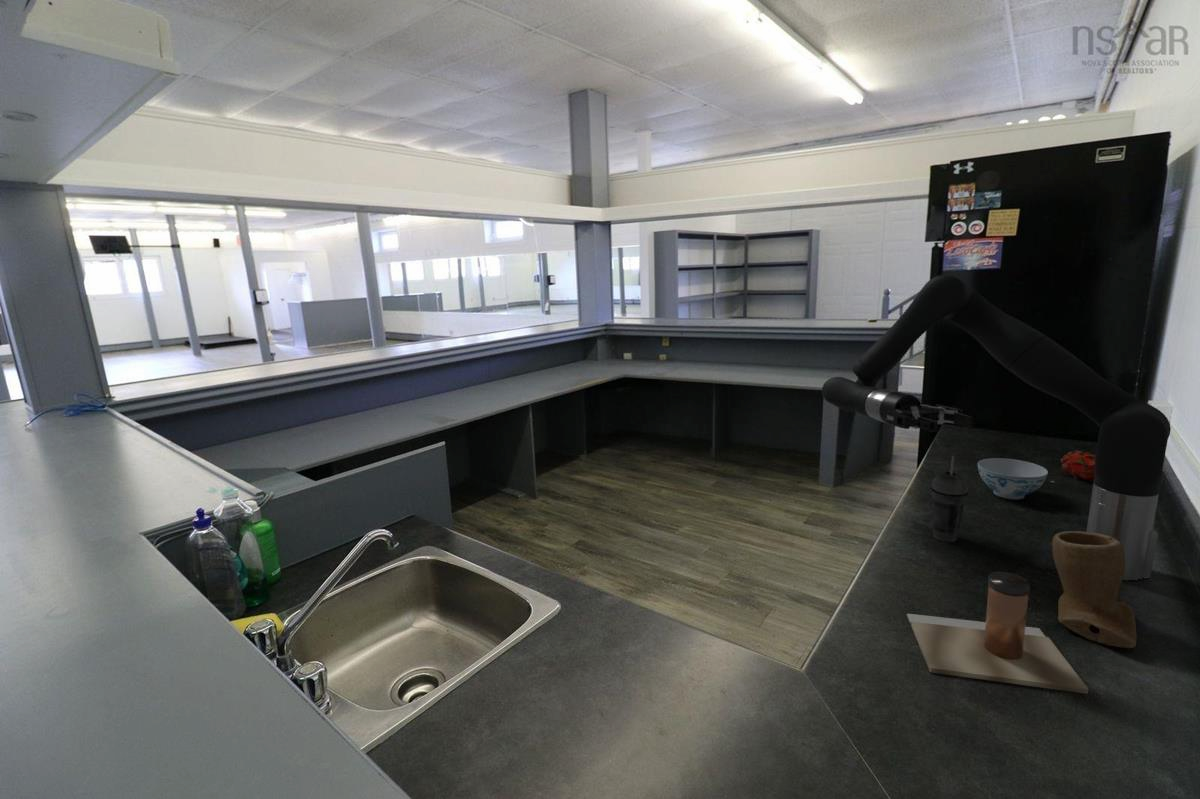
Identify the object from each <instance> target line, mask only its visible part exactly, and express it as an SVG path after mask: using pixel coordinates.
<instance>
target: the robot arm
mask: <svg viewBox="0 0 1200 799" xmlns="http://www.w3.org/2000/svg"><path fill="white" fill-rule="evenodd" d="M943 319H944V320H946V321H948V322H950V323H951V324H953V325H955V326H956V327H958V328H959V329H961V330H963V331H964V332H965V333H968V334H969V335H970V336H971V337H973V339H975V340H976V341H977V342H978V343H979V345H981V346H982V348H984V349H985V350H986V351H987V353H989V355H991V356H992V357H993V359H995V360H996V361H997V363H999V364H1000V365H1002V366H1003V367H1004V368H1005V369H1007V371H1009V372H1010V373H1012V374H1013V375H1014V376H1016V377H1017V378H1018V379H1020V380H1021V381H1023V382H1024V383H1026V384H1028V385H1029V386H1031V387H1032V388H1035V389H1036V390H1038V391H1041V392H1043V393H1045V394H1047V395H1049V396H1052V397H1053V398H1056V399H1059V400H1061V401H1063V402H1065V403H1066V404H1068V405H1071V406H1072V407H1074V409H1075V408H1076V409H1077V410H1078V411H1080V412H1081V413H1082V414H1083V415H1085V416H1086V417H1088V418H1089V419H1090V420H1091V421H1092V422H1093V423H1095V424H1096V425H1097V426H1098V427H1099V430H1098V431H1099V432H1098V437H1097V443H1096V451H1095V455H1096V458H1095V466H1094V472H1095V476H1094V479H1093V480H1094V482H1093V485H1092V491H1091V499H1090V505H1089V512H1088V518H1087V527H1086V531H1085V532H1088V533H1098V534H1103V535H1107V536H1111V537H1112V538H1114V539H1116V540H1118V541H1119V542H1120V543H1121V544H1122V546H1123V548H1124V551H1125V574H1124V578H1123V580H1122V581H1128V580H1135V581H1139V580H1138V579H1141V578H1144V579H1146V578H1145V577H1148V578H1150V579H1151V576H1152V571H1153V570H1152V569H1153V565H1154V558H1155V553H1156V548H1157V542H1158V537H1159V534H1158V532H1157V531H1156V530H1154V524H1155V518H1156V510H1157V505H1158V500H1159V495H1160V488H1161V483H1162V475H1163V468H1164V463H1165V457H1166V452H1167V446H1168V440H1169V437H1170V435H1171V429H1172V427H1171V422H1170V421H1169V419H1168V417H1167V416H1166V415H1165V413H1163V412H1162V411H1161V410H1160V409H1158V408H1156V407H1154V406H1153V405H1152V404H1150V403H1147V402H1145V401H1144V400H1142V399H1140V398H1138V397H1136V396H1135V395H1132V393H1131V394H1130V393H1129V392H1127V391H1125V390H1124V389H1122V388H1120V387H1118V386H1117V385H1115V384H1113V383H1111V382H1109V381H1108V380H1107V379H1105V378H1103V377H1102V376H1101V375H1100V374H1098V373H1097V372H1096V371H1095V370H1094V369H1093V368H1091V367H1090V366H1088V365H1087V364H1086V363H1084V362H1083V361H1081V359H1079V358H1078V357H1077V356H1075V355H1074V354H1072V353H1071V352H1070V351H1069V350H1067V349H1065V347H1063V346H1061V345H1060V344H1059V343H1057V342H1056V341H1054V340H1053V339H1051V338H1049V337H1048V336H1046V334H1044V333H1043V332H1040V331H1039V330H1037V329H1035V328H1034V327H1032V326H1030V325H1028V324H1027V323H1025V322H1023V321H1021V320H1019V319H1017V318H1016V317H1013V316H1011V315H1009V314H1007V313H1005V312H1004V311H1002V310H1001V309H999V308H997V307H996V306H995V305H994V304H992V303H991V302H989V300H987V299H986V298H985V297H984V296H982V294H980V293H979V292H978V291H976V289H975V288H974V287H972V286H971V285H970V284H969V283H968V282H967V281H966V280H964V279H962V278H961V277H958V276H955V275H951V274H941V275H936V276H934V277H932V278H931V279H929V280H928V281H927V282H926V283H925V284H924V285H923V287H922V288H921V289H920V291H919V292H918V293H917V294H916V296H915V298H914V299H913V300H912V302H911V303H910V304H909V306H908V307H907V308H906V309H905V311H904V312H903V313H901V316H900V317H899V318H898V319H897V320H896V321H895V322H894V324H893V325H892V326H891V327H890V328H889V329H888V330H887V331H886V332H885V333H884V334H883V335H882V336H880V338H878V340H877V341H875V343H874V344H873V345H871V347H870V348H868V350H867V351H866V352H864V353H863V354H862V356H860V357H859V359H857V360H856V361H855V362H854V364H853V365H852V372H853V374H854V375H855V376H856V377H857V379H856V381H854V380H851V379H848V378H846V377H842V376H833V377H831V378H829V379H827V380H826V381H825V382H824V383H823V385H822V389H821V395H822V398H823V399H824V400H825V402H827V403H829V404H831V405H833V406H835V407H836V408H838V409H841V410H843V411H845V412H849V413H850V412H856V413H857V414H860V415H862V416H865V417H869V418H873V419H874V420H876V421H878V422H881V423H885V424H888V425H891V426H894V427H897V428H900V429H904V430H907V429H911V428H913V429H921V430H923V431H928V432H932V433H937V431H938V425H943V424H944V423H946V424H947V423H948V424H955V425H958V426H960V427H966V428H972V426H973V422H974V417H973V416H971V415H968V414H964V413H963V409H961V408H956V407H951V406H947V405H943V404H935V406H932V405H929V404H922V403H921V401H920V400H919V398H918V397H917V396H916V395H913V394H910V393H904V392H900V391H895V390H893V389H885V388H884V389H883V388H879V387H876V386H877V385H878V383H879V381H881V380H882V379H883V378H884V377H885V376H886V375H887V374H888V373H889V372H890V371H891V370H892V369H894V368H895V367H896V366H897V364H899V362H900V361H901V360H902V359H903V357H905V355H906V354H907V353H908V351H910V348H911V347H912V346H913V345H914V344H915V343H916V342H917V341H918V340H919V338H921V337H922V335H924V334H925V333H926V332H927V331H928V330H929V329H931V328H932V327H933V326H935V325H936V324H937V323H939V322H941V320H943ZM937 418H938V419H937ZM1141 580H1142V579H1141Z"/></svg>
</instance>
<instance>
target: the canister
mask: <svg viewBox="0 0 1200 799" xmlns="http://www.w3.org/2000/svg"><path fill="white" fill-rule="evenodd" d="M987 584H988V588H987V604H986V613H985V614H986V615H985V622H986V625H985V638H984V647H985V648H986V649H987V650H988V651H989V652H990V653H992V654H994V655H996V656H998V657H1001V658H1005V659H1019V658H1021V657H1022V656H1023V647H1024V636H1025V627H1027V625H1026V624H1027V615H1028V612H1027V611H1028V602H1029V594H1030V592H1031V591H1030V589H1031V583H1030V581H1029V580H1027V579H1026V578H1025V577H1024V576H1021V575H1018V574H1015V573H1012V572H1007V571H994V572H991V573H989V574H988V581H987Z"/></svg>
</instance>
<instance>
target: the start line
mask: <svg viewBox="0 0 1200 799" xmlns="http://www.w3.org/2000/svg"><path fill="white" fill-rule="evenodd" d="M906 617H907V618H908V621H909V623H910V624H911V623H912V622H920V623H928V624H937V625H946V626H954V627H963V628H972V629H981V630H985V625H986V621H977V620H967V619H960V618H951V617H950V618H949V617H942V616H941V617H940V616H934V615H933V616H931V615H923V614H916V613H915V614H914V613H906ZM1025 635H1033V636H1042V637H1046V635H1045V634H1044V632H1042V630H1041V629H1040V627H1039V628H1038V627H1031V626H1025Z"/></svg>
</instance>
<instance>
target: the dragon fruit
mask: <svg viewBox="0 0 1200 799" xmlns="http://www.w3.org/2000/svg"><path fill="white" fill-rule="evenodd" d="M1095 458H1096V453H1095V454H1092V453H1091V452H1089V451H1087V452H1084V451H1083V450H1082V451H1080V450H1074V451H1069V452H1068V453H1067V454H1064V455H1063V456H1062V458H1061V459H1060V463H1061V467H1060V469H1061V470H1062V471H1065V472H1069V473H1070V474H1071V476H1072V477H1073V478H1074V479H1080V478H1081V479H1083V480H1086V481H1089V483H1094V476H1095V472H1094V466H1095Z"/></svg>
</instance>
